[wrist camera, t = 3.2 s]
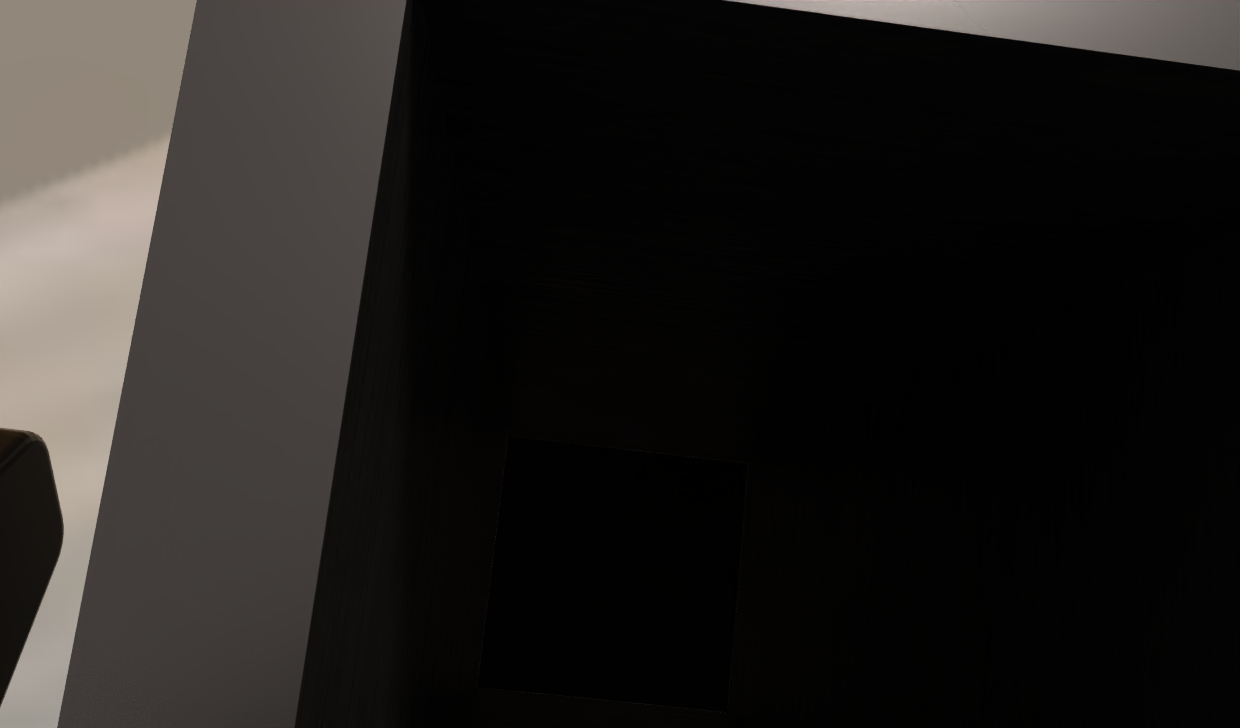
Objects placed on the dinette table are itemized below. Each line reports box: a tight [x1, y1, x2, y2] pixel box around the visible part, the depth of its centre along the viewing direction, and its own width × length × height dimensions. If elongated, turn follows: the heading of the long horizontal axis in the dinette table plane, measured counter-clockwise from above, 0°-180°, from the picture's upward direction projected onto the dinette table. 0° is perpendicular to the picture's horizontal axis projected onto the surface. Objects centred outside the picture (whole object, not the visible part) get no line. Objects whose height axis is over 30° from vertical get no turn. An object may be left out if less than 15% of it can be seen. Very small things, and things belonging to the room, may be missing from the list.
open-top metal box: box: [57, 0, 1240, 728], centre depth 9 cm, size 5×5×12 cm
